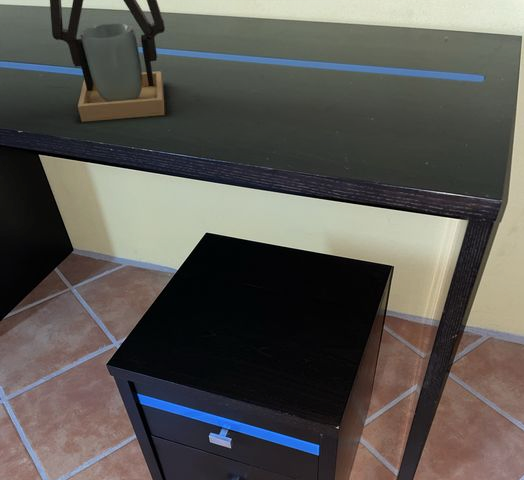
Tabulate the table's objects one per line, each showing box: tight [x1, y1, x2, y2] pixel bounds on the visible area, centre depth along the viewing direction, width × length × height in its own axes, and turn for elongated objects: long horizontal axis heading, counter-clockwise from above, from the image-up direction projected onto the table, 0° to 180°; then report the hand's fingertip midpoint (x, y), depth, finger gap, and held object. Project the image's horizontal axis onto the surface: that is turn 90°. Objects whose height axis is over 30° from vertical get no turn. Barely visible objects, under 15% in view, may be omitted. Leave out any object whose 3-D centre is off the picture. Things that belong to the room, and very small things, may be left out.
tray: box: [77, 71, 166, 122], centre depth 84 cm, size 13×13×3 cm
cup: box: [80, 22, 143, 102], centre depth 80 cm, size 8×8×10 cm
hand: (120, 85), depth 82 cm, fingers open, 9 cm apart
